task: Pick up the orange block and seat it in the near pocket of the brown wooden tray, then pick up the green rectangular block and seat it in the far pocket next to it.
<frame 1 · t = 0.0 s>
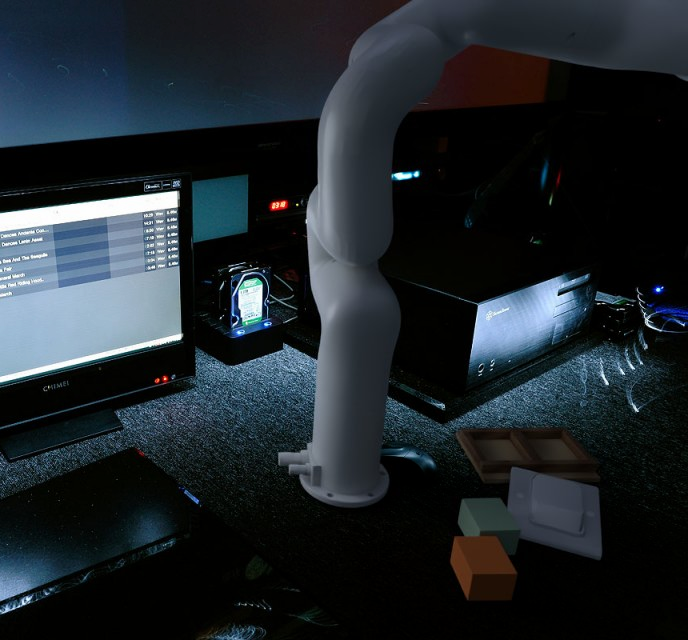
green rectangular block: (485, 538, 84), on the table
light switch: (551, 514, 88), on the table, touching brown wooden tray
brown wooden tray: (523, 457, 100), on the table
orange block: (479, 580, 78), on the table
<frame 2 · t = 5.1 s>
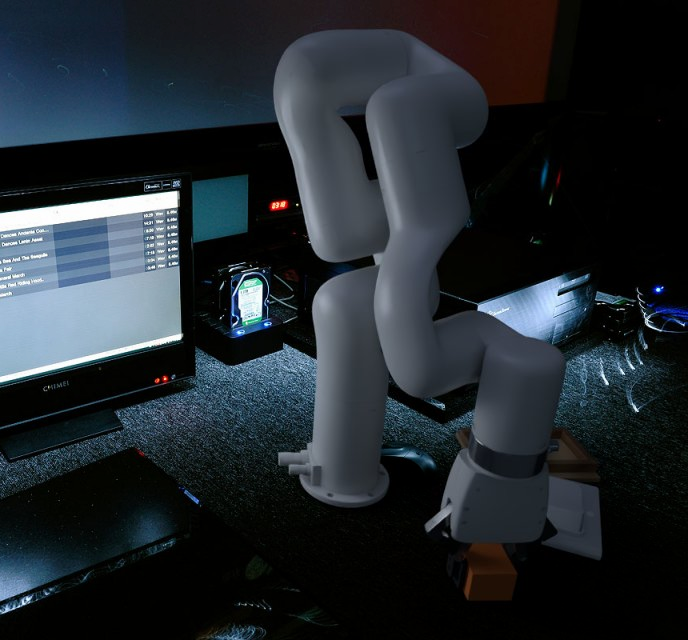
hand: (480, 577, 78), 0 cm above the table, tool pointing down, fingers closed on orange block, 5 cm apart
orange block: (479, 580, 78), on the table, touching gripper
everything else where it was.
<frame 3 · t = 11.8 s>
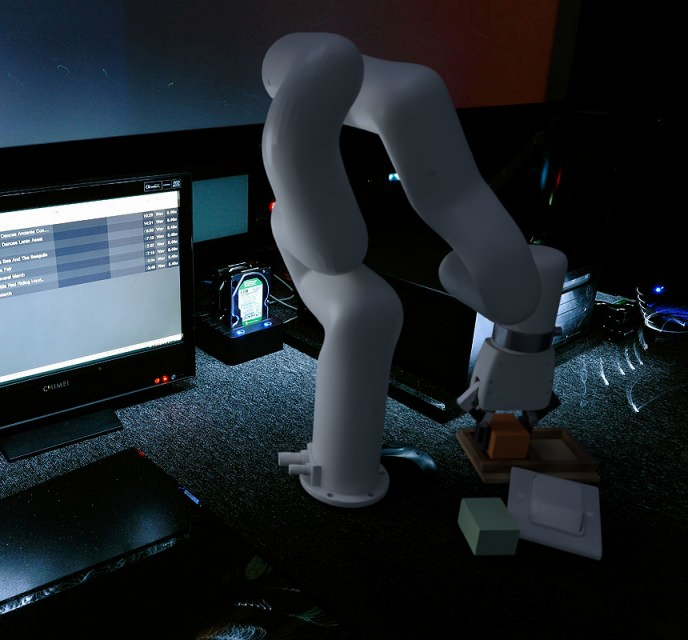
hand: (500, 444, 99), 2 cm above the table, tool pointing down, fingers closed on orange block, 5 cm apart
orange block: (500, 446, 99), point 2 cm above the table, touching gripper
everything else where it was.
when the fingers open (3 cm above the table, at t = 16.8 s): orange block drops 2 cm, resting on brown wooden tray.
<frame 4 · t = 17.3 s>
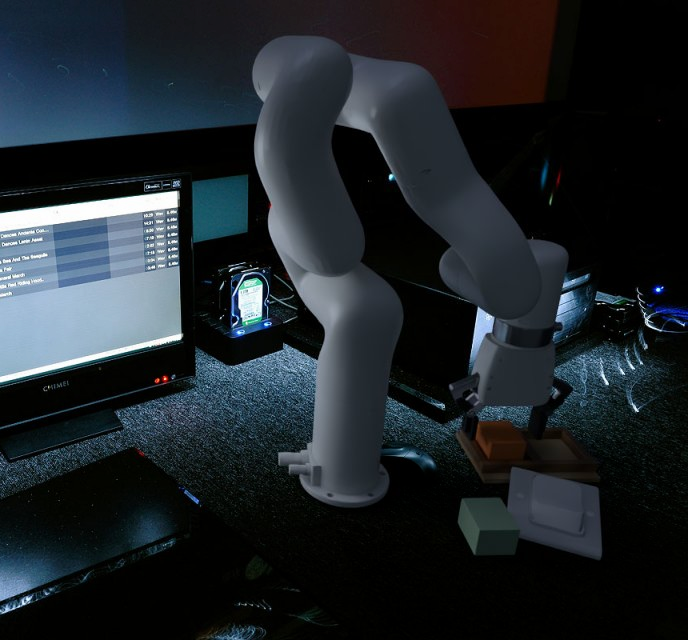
hand: (501, 435, 98), 4 cm above the table, tool pointing down, fingers open, 9 cm apart
orange block: (496, 454, 100), point 1 cm above the table, touching brown wooden tray
everything else where it was.
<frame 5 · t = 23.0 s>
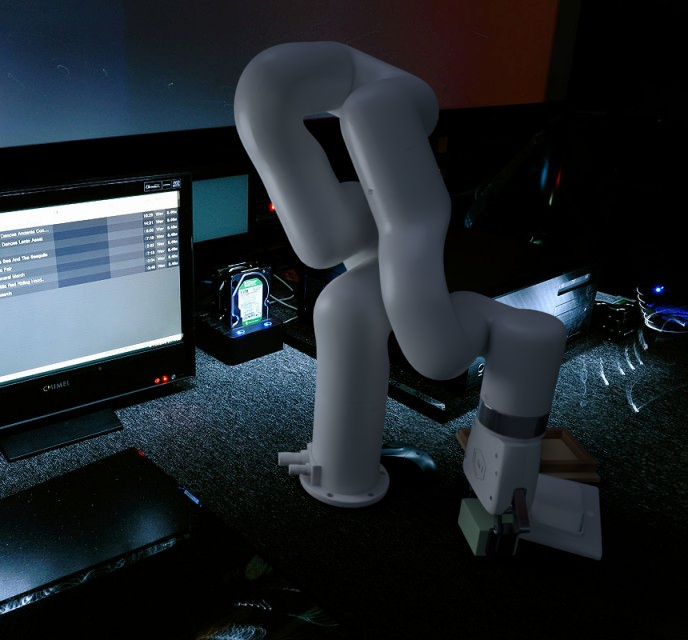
hand: (488, 534, 84), 1 cm above the table, tool pointing down, fingers closed on green rectangular block, 6 cm apart
green rectangular block: (485, 538, 84), on the table, touching gripper
everything else where it was.
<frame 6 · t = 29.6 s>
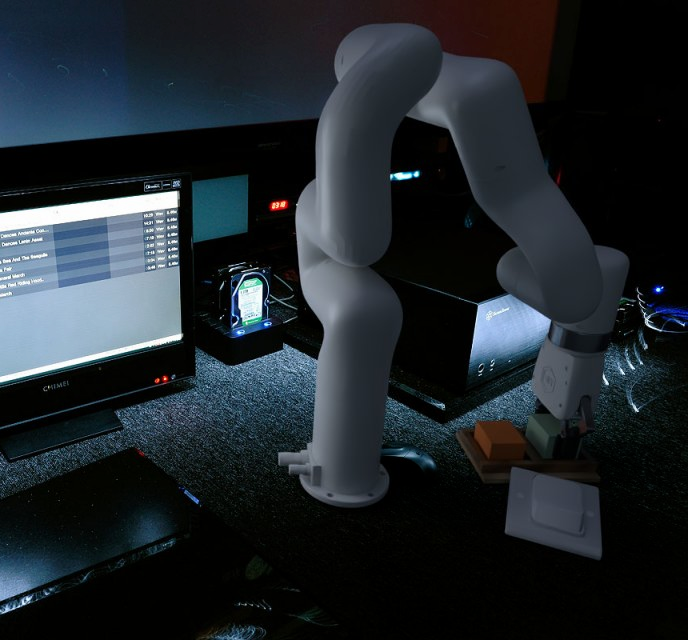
hand: (552, 443, 99), 3 cm above the table, tool pointing down, fingers closed on green rectangular block, 6 cm apart
green rectangular block: (550, 447, 99), point 2 cm above the table, touching gripper
everything else where it was.
when the fingers open (3 cm above the table, at t = 36.2 s): green rectangular block drops 2 cm, resting on brown wooden tray.
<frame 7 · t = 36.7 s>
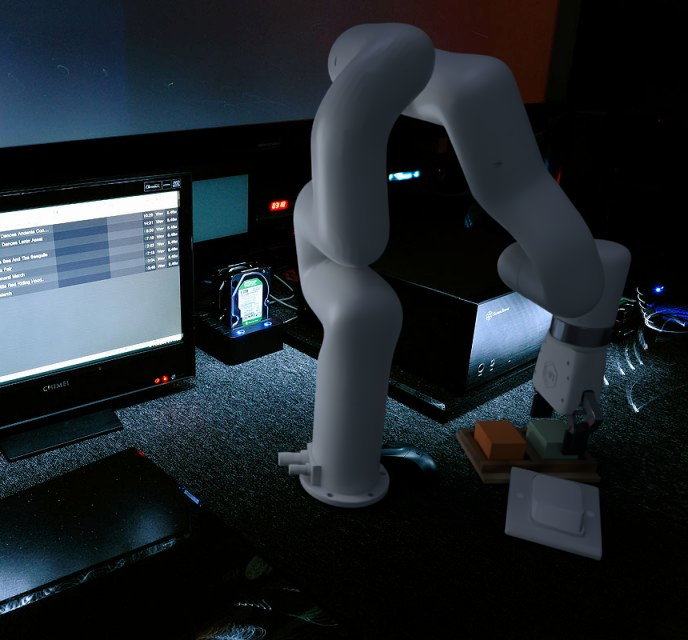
hand: (555, 434, 98), 4 cm above the table, tool pointing down, fingers open, 9 cm apart
green rectangular block: (549, 453, 100), point 1 cm above the table, touching brown wooden tray
everything else where it was.
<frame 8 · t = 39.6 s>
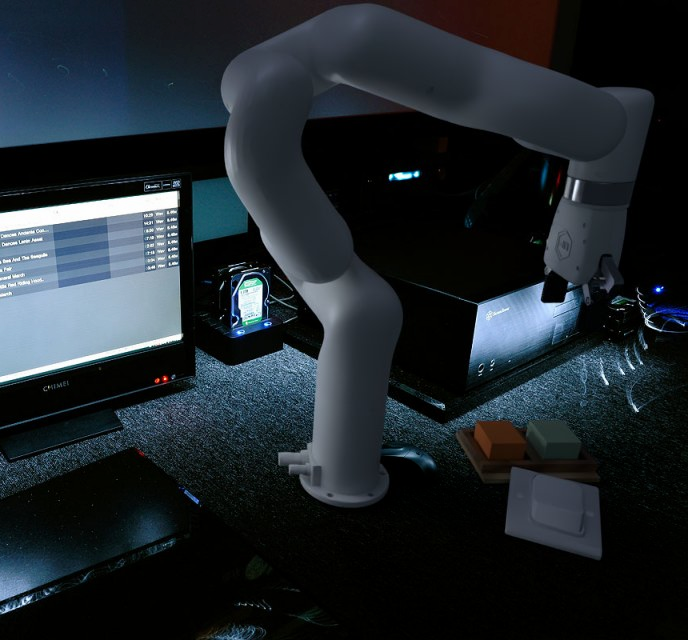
hand: (569, 316, 90), 23 cm above the table, tool pointing down, fingers open, 9 cm apart
nothing on the table moved.
at the end: orange block 0.2 cm from the target spot on the brown wooden tray, point 0.8 cm above the brown wooden tray's base; green rectangular block 0.2 cm from the target spot on the brown wooden tray, point 0.8 cm above the brown wooden tray's base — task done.
